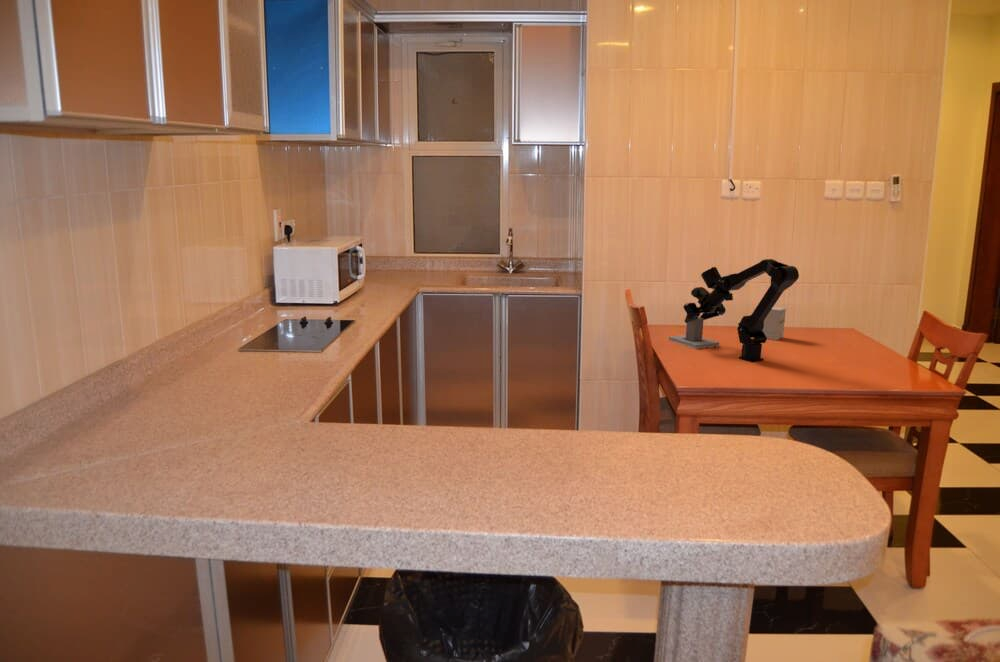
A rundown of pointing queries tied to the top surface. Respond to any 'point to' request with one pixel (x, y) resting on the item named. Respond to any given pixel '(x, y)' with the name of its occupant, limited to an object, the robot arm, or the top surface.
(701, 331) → the plug
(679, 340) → the socket
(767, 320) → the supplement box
